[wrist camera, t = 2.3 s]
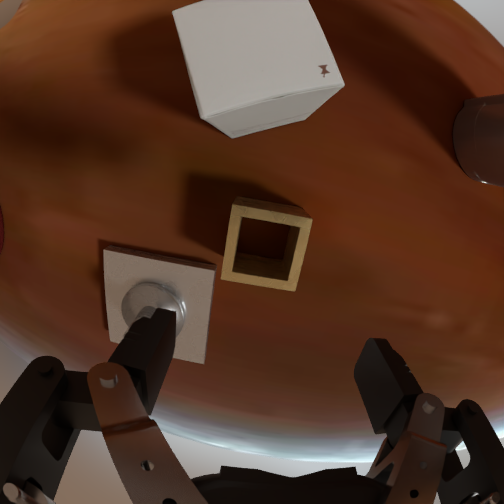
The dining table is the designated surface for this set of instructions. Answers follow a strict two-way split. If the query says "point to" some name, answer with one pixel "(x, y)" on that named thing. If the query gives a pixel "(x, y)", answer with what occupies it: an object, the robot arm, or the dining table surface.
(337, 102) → the dining table surface
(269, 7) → the supplement box
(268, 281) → the box
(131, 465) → the robot arm
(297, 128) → the dining table surface
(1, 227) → the frying pan
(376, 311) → the dining table surface
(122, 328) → the shaft stand
